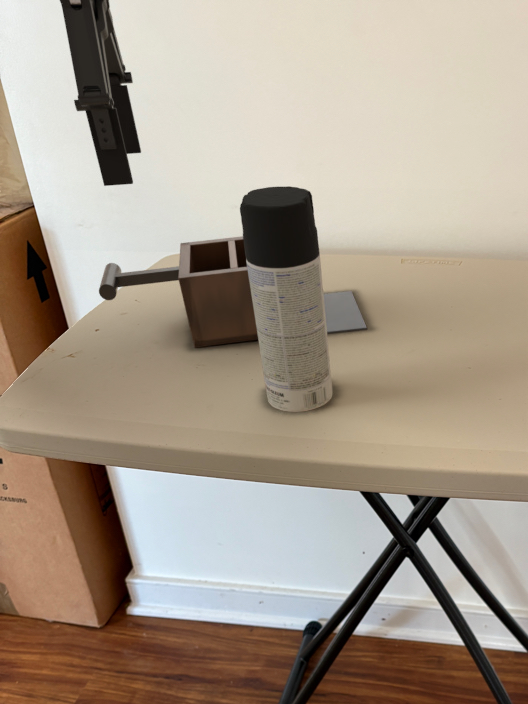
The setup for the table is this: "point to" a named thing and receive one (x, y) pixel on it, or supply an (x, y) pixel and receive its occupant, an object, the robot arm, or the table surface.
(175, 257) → the table surface
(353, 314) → the stand
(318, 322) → the spray can
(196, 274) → the brown box with handle
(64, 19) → the robot arm
